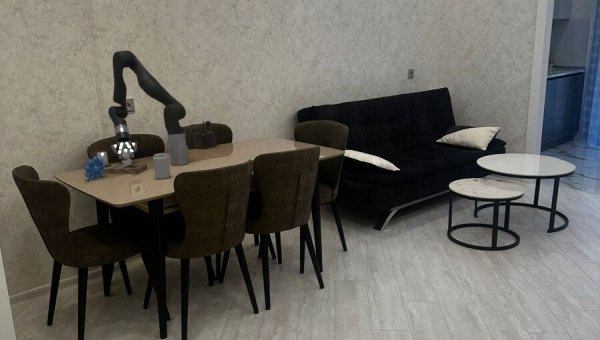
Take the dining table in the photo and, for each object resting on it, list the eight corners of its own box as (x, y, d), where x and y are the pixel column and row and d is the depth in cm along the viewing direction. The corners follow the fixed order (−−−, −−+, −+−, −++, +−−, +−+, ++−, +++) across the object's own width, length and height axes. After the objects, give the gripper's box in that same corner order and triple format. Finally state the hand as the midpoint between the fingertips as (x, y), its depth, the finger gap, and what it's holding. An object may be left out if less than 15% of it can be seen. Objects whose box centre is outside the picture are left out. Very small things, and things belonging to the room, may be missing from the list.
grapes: (101, 176, 263) (98, 153, 260) (109, 178, 259) (106, 154, 257) (80, 182, 254) (77, 158, 251) (89, 183, 250) (85, 159, 247)
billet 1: (111, 170, 273) (108, 151, 271) (105, 172, 268) (103, 153, 266) (102, 169, 274) (100, 151, 272) (97, 172, 269) (94, 153, 267)
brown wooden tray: (147, 170, 272) (146, 164, 271) (137, 175, 262) (136, 169, 261) (100, 170, 278) (99, 164, 277) (88, 175, 267) (87, 168, 267)
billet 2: (134, 165, 284) (131, 147, 282) (129, 167, 279) (127, 149, 277) (125, 165, 285) (123, 147, 283) (121, 167, 281) (118, 149, 278)
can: (173, 177, 255) (171, 153, 252) (160, 180, 250) (158, 156, 247) (165, 175, 260) (162, 151, 257) (152, 178, 255) (149, 154, 252)
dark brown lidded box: (193, 148, 330) (190, 120, 325) (205, 145, 338) (203, 118, 334) (210, 150, 321) (207, 121, 317) (222, 146, 329) (220, 119, 325)
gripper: (108, 132, 282) (112, 157, 274) (135, 129, 287) (140, 154, 279) (109, 140, 288) (113, 165, 280) (135, 137, 293) (140, 161, 285)
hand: (127, 159), depth 280 cm, fingers closed on billet 2, 5 cm apart
